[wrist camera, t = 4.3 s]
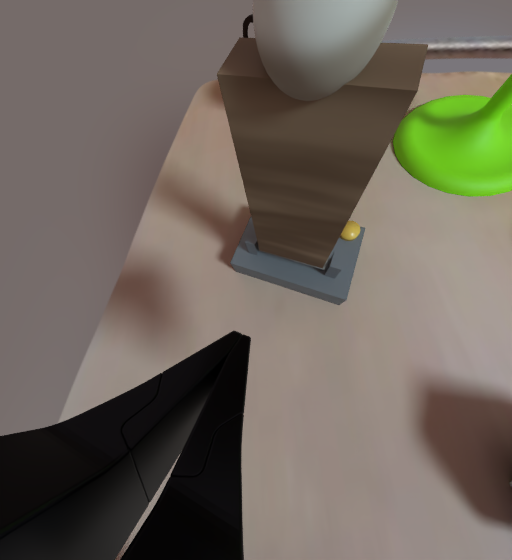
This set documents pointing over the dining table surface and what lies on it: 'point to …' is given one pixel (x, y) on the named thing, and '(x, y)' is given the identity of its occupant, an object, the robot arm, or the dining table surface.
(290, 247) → the toggle lever
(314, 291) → the blue-grey base plate
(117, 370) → the dining table surface
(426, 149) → the wineglass
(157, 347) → the dining table surface
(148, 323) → the dining table surface
